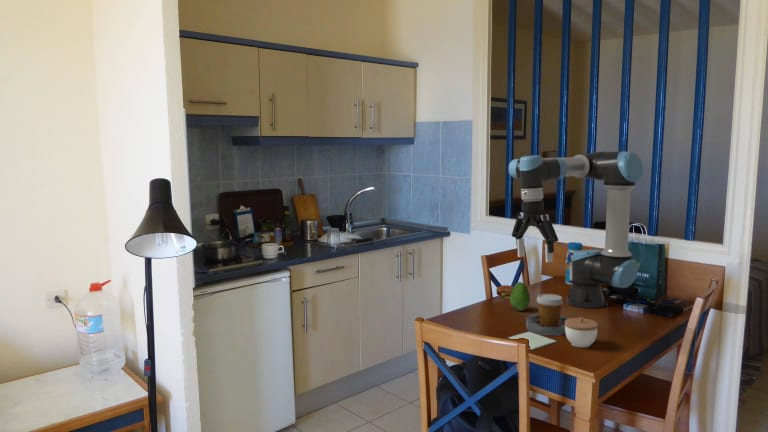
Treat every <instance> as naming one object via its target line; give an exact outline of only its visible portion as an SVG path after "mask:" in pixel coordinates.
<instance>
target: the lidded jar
mask: <svg viewBox="0 0 768 432" xmlns="http://www.w3.org/2000/svg"><path fill="white" fill-rule="evenodd" d="M598 328H599V323H598V322H597V321H595V320H592V319H588V318H584V317H570V319H566V320H565V334H566V335H565V336H566V337H565V338H566V339H567V340H568V341H569V343H570V344H571V346H573V347H576V348H581V349H583V348H584V349H585V348H589V347H590V346H591V345H592V344H593V343H594V342H595V341H596V340H597V339H596V338H597V336H598V330H599V329H598Z"/></svg>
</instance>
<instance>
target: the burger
mask: <svg viewBox="0 0 768 432" xmlns="http://www.w3.org/2000/svg"><path fill="white" fill-rule="evenodd" d="M513 288H514V286H513V285H505V284H504V285H500V286H498V287H497V288H496V289H495V291H496V295H497V296H498V297H499V298H501V299H505V300H510V295H511V292H512V290H513Z"/></svg>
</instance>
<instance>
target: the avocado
mask: <svg viewBox="0 0 768 432" xmlns="http://www.w3.org/2000/svg"><path fill="white" fill-rule="evenodd" d="M513 287H514V288H513V290H512V292H511V295H510V299H509V304H510V306H511V307H512V308H513V309H514V310H516V311H519V312H520V311H521V312H522V311H525V310H526V309H527V308H528V307H529V305H530V301H531V296H530V292H529V290H528V287H527V285H526V284H525V283H523V282H521V281H518V282H516V283H515V284H514V286H513Z"/></svg>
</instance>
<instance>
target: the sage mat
mask: <svg viewBox="0 0 768 432" xmlns="http://www.w3.org/2000/svg"><path fill="white" fill-rule="evenodd" d="M508 338H510V339H519V338H525V339H528V340H529V346H530V348H529V350H537V349H540V348H543V347H545V346H549V345H553V344H555V343H557V340H555V339H552V338H549V337H546V336H544V335H540V334H537V333H534V332H531V331H527V332H523V333H519V334H516V335H512V336H509V337H508Z"/></svg>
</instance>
